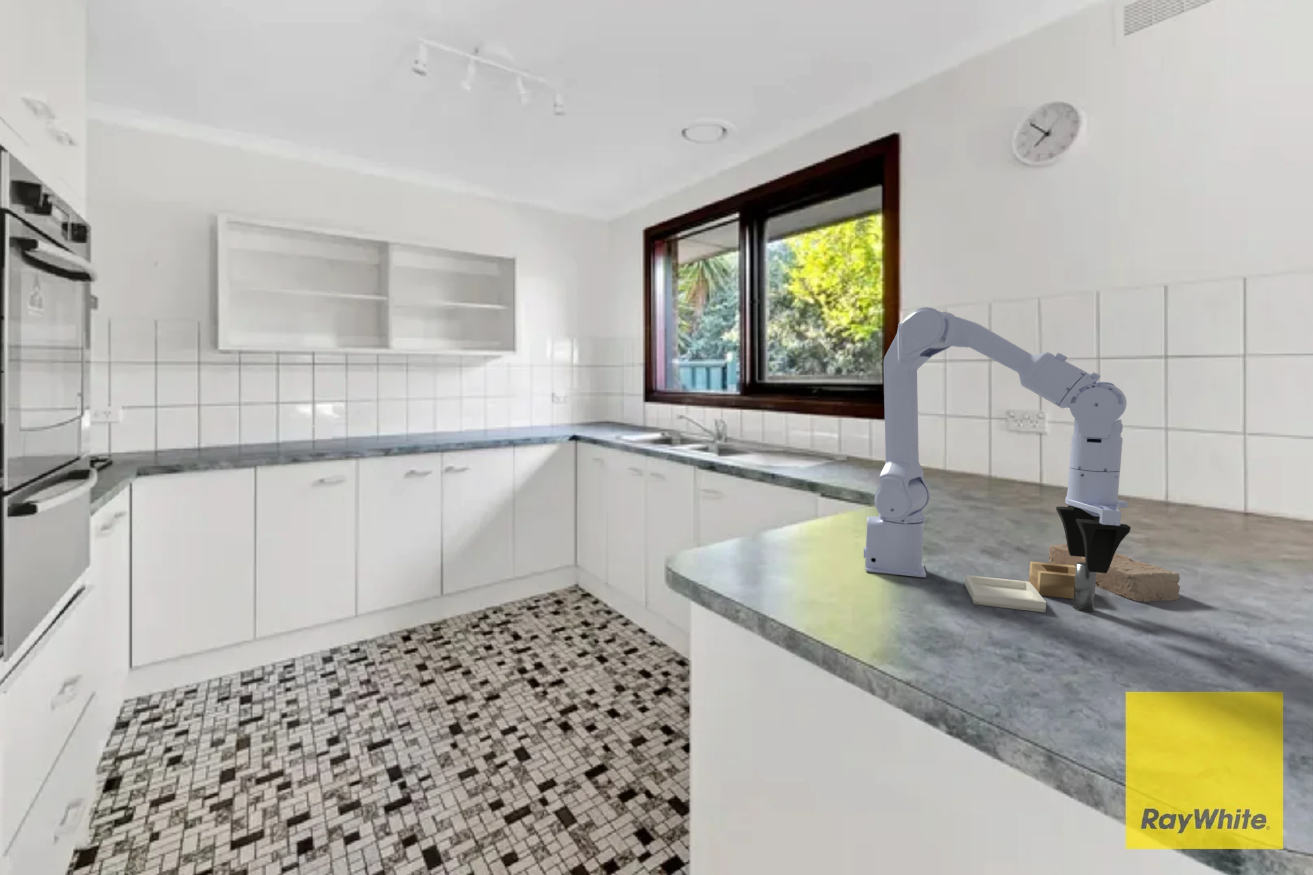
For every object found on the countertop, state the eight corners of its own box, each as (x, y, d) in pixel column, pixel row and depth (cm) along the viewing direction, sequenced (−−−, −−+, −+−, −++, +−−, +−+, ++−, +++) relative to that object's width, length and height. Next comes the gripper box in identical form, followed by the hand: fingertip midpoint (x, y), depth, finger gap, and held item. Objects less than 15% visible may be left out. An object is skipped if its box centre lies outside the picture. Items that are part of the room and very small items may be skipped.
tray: (973, 604, 86) (974, 594, 86) (964, 583, 94) (964, 574, 94) (1045, 612, 83) (1046, 602, 83) (1028, 590, 91) (1029, 581, 91)
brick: (1182, 601, 88) (1185, 570, 88) (1134, 603, 87) (1136, 572, 86) (1087, 567, 104) (1089, 541, 104) (1045, 569, 103) (1046, 542, 103)
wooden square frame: (1038, 595, 89) (1040, 572, 89) (1028, 582, 95) (1030, 561, 95) (1085, 600, 87) (1087, 577, 87) (1072, 586, 93) (1073, 565, 93)
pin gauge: (1075, 610, 83) (1079, 566, 83) (1070, 604, 86) (1073, 561, 85) (1096, 613, 83) (1099, 568, 82) (1089, 606, 85) (1093, 563, 84)
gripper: (1152, 478, 74) (1144, 583, 75) (1108, 463, 88) (1101, 552, 89) (1086, 475, 76) (1079, 577, 78) (1053, 461, 90) (1047, 547, 91)
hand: (1087, 563), depth 83 cm, fingers open, 7 cm apart
